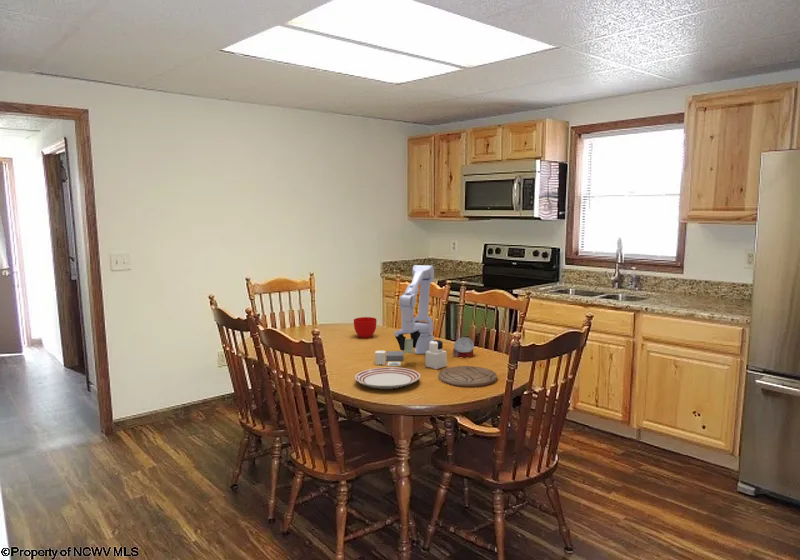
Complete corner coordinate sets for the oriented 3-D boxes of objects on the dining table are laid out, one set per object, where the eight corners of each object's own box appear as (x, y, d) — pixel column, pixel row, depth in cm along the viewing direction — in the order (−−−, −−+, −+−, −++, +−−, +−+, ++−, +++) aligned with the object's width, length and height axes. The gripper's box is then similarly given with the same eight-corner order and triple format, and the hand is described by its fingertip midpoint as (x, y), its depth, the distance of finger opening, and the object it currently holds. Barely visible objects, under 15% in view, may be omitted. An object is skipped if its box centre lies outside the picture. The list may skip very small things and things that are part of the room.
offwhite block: (385, 362, 263) (385, 350, 262) (385, 364, 258) (384, 353, 257) (376, 362, 263) (375, 350, 262) (375, 364, 258) (375, 353, 258)
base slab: (403, 357, 272) (403, 351, 272) (403, 361, 264) (403, 355, 264) (387, 357, 272) (387, 351, 272) (386, 361, 264) (386, 355, 264)
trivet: (474, 367, 254) (474, 363, 254) (509, 382, 232) (509, 377, 232) (427, 375, 243) (427, 371, 242) (458, 391, 221) (458, 387, 220)
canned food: (473, 363, 275) (482, 347, 271) (460, 365, 268) (469, 349, 264) (458, 349, 281) (466, 334, 278) (445, 351, 274) (453, 335, 270)
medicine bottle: (435, 363, 260) (435, 338, 258) (447, 366, 255) (447, 340, 253) (425, 366, 255) (424, 341, 253) (436, 369, 250) (436, 343, 248)
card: (400, 362, 262) (400, 361, 262) (400, 365, 256) (400, 365, 256) (388, 362, 262) (388, 361, 262) (387, 365, 256) (387, 365, 256)
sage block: (412, 350, 261) (412, 338, 261) (412, 353, 257) (412, 341, 256) (403, 350, 262) (403, 338, 261) (402, 353, 257) (402, 341, 256)
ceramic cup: (381, 333, 322) (380, 316, 321) (373, 339, 306) (372, 322, 304) (359, 332, 325) (359, 315, 324) (350, 338, 309) (350, 321, 307)
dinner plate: (347, 377, 240) (346, 370, 240) (405, 370, 250) (405, 362, 250) (367, 397, 215) (366, 389, 214) (430, 388, 225) (430, 380, 225)
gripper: (414, 316, 265) (414, 344, 267) (390, 321, 256) (390, 349, 258) (423, 319, 259) (423, 347, 261) (399, 323, 250) (399, 352, 252)
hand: (408, 348), depth 259 cm, fingers closed on sage block, 6 cm apart
